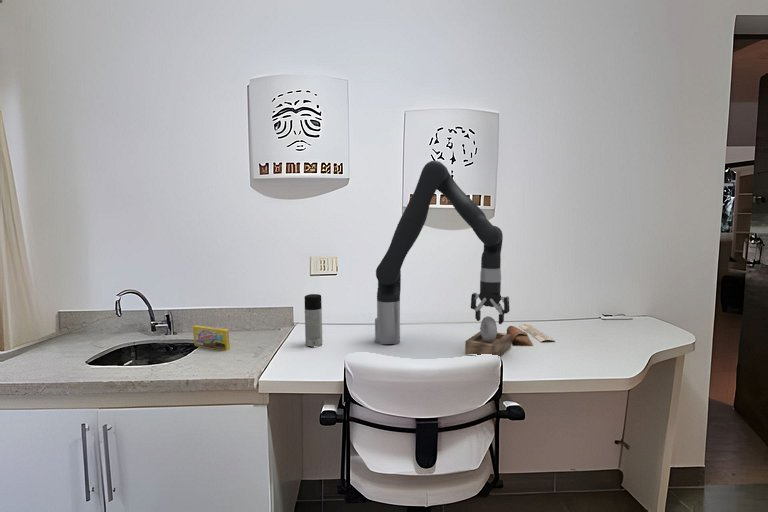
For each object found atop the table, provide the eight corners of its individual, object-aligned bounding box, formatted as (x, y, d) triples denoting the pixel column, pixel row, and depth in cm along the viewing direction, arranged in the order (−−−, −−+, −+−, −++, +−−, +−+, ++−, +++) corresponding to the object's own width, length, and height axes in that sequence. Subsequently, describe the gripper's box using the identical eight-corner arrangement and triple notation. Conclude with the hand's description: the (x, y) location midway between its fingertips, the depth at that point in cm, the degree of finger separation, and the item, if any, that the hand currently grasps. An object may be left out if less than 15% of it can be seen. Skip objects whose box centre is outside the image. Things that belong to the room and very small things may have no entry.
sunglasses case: (535, 346, 175) (526, 331, 175) (518, 354, 176) (510, 340, 176) (526, 333, 193) (518, 319, 192) (511, 340, 194) (504, 327, 193)
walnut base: (465, 354, 166) (465, 341, 166) (481, 342, 181) (481, 329, 180) (496, 360, 160) (497, 346, 159) (511, 347, 174) (511, 334, 174)
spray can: (325, 343, 180) (324, 294, 177) (316, 348, 173) (315, 297, 171) (311, 341, 182) (310, 293, 180) (302, 346, 176) (300, 296, 174)
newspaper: (555, 343, 180) (555, 339, 180) (538, 344, 180) (538, 340, 180) (531, 327, 204) (531, 323, 203) (516, 327, 203) (516, 324, 203)
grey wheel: (498, 346, 166) (499, 319, 165) (489, 346, 165) (490, 319, 164) (486, 338, 175) (487, 313, 175) (478, 339, 175) (479, 313, 174)
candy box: (193, 346, 177) (192, 326, 176) (197, 345, 179) (196, 324, 178) (226, 351, 171) (225, 330, 170) (230, 349, 173) (229, 328, 172)
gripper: (468, 279, 168) (467, 321, 170) (506, 283, 160) (504, 327, 162) (475, 276, 174) (475, 317, 176) (512, 279, 166) (511, 322, 168)
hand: (489, 322), depth 169 cm, fingers open, 8 cm apart
